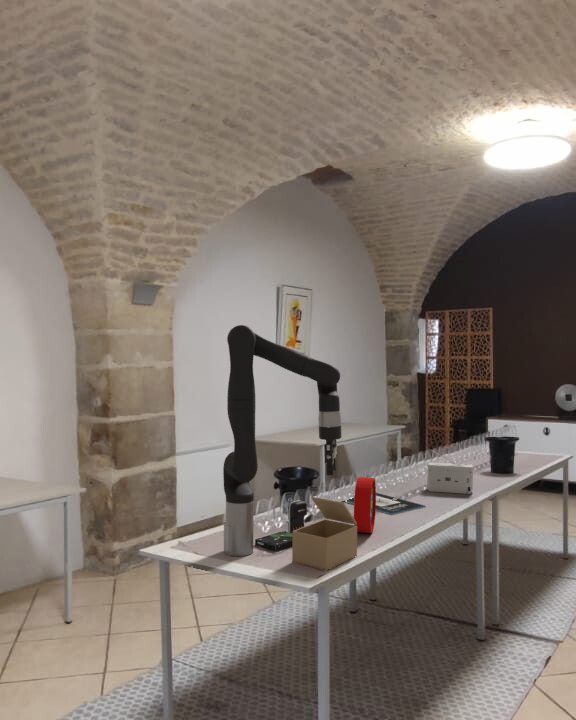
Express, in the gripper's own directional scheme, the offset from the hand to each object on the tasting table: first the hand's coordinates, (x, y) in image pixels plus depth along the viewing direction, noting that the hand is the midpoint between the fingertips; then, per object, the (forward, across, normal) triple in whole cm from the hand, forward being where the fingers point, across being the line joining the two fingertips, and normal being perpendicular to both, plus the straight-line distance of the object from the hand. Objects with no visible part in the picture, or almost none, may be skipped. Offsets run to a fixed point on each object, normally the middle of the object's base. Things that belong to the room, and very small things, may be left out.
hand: (331, 472), depth 223 cm
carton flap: (+12, +4, +1) cm, 13 cm away
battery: (+26, -20, -15) cm, 36 cm away
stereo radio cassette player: (+28, -100, +45) cm, 113 cm away
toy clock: (+27, -26, +9) cm, 38 cm away
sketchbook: (+27, -70, +14) cm, 76 cm away
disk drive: (+26, -4, -19) cm, 33 cm away
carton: (+26, +9, -2) cm, 28 cm away
